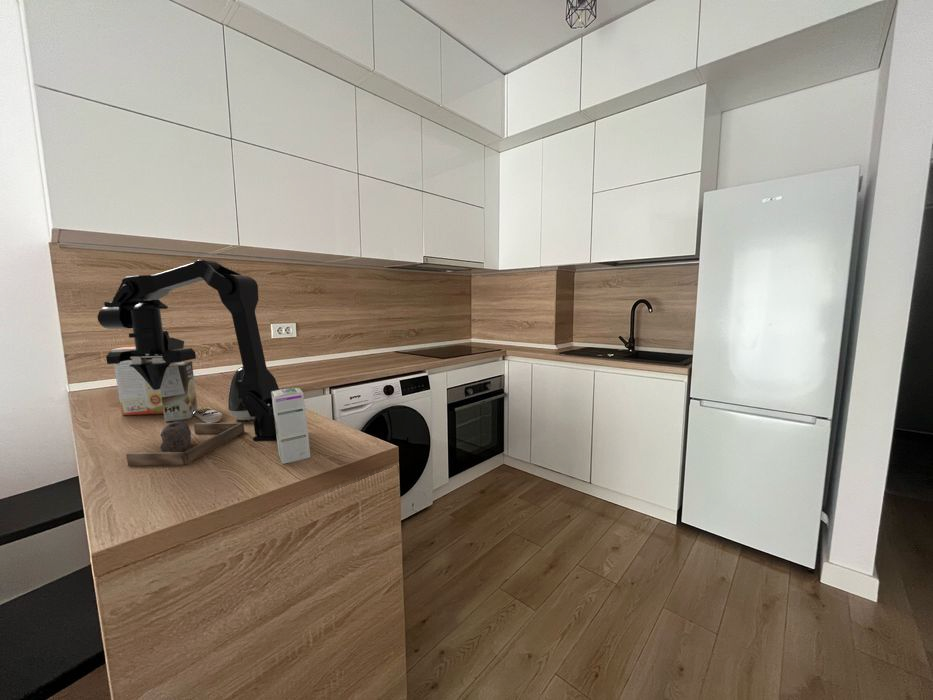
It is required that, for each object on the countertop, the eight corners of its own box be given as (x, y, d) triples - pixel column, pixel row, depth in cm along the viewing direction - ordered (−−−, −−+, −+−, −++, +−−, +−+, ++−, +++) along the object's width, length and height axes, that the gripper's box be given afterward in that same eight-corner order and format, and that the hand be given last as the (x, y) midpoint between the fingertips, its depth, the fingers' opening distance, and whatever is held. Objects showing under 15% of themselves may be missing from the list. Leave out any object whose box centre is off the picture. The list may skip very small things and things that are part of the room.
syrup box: (311, 458, 80) (305, 391, 78) (280, 465, 77) (273, 395, 75) (306, 449, 85) (300, 386, 83) (277, 455, 82) (270, 390, 80)
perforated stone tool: (170, 443, 92) (166, 415, 91) (196, 438, 94) (192, 411, 93) (159, 465, 79) (154, 433, 78) (190, 459, 82) (185, 428, 81)
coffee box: (191, 418, 111) (183, 365, 108) (164, 422, 108) (156, 367, 106) (198, 410, 119) (192, 360, 117) (174, 413, 117) (166, 362, 114)
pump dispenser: (247, 425, 103) (241, 370, 101) (221, 421, 107) (214, 369, 105) (278, 414, 112) (273, 364, 110) (253, 411, 116) (248, 362, 114)
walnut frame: (244, 431, 98) (243, 422, 97) (186, 464, 78) (184, 453, 78) (197, 432, 98) (195, 423, 98) (127, 465, 79) (126, 454, 79)
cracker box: (181, 408, 122) (172, 344, 119) (167, 414, 116) (157, 346, 113) (137, 410, 122) (127, 346, 119) (121, 416, 116) (110, 348, 113)
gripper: (207, 324, 101) (214, 381, 103) (140, 326, 102) (149, 383, 104) (174, 328, 90) (182, 391, 92) (99, 330, 91) (109, 393, 93)
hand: (156, 389), depth 96 cm, fingers closed
